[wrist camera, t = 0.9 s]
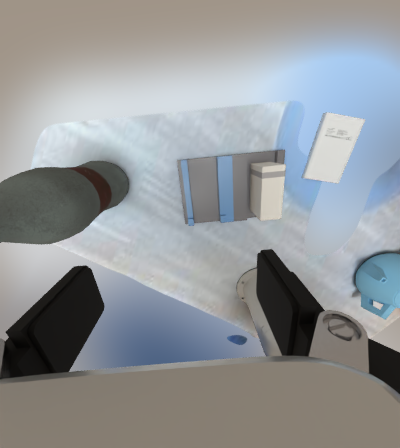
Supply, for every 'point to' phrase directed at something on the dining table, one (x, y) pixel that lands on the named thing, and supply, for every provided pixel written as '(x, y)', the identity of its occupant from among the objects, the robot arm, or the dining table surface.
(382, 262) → the teapot
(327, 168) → the external hard drive
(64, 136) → the dining table surface
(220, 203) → the board
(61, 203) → the bottle
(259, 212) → the block
